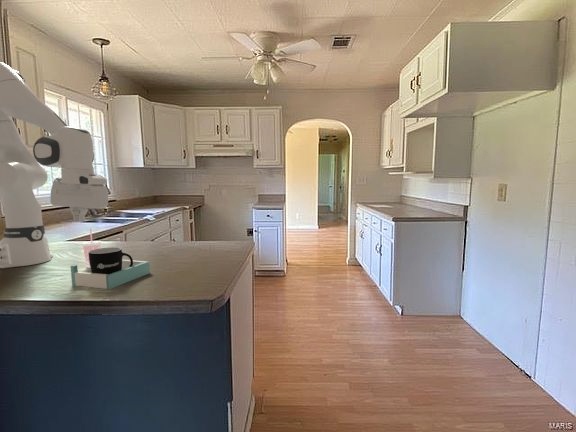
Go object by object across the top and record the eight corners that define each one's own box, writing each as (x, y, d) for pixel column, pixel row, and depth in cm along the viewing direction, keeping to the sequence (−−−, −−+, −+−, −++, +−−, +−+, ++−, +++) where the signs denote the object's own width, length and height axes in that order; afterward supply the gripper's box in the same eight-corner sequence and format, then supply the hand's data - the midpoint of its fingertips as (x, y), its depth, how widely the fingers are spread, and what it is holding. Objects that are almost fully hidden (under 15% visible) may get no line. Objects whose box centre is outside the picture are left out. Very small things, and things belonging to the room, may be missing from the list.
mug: (92, 288, 95) (90, 254, 94) (89, 281, 102) (86, 249, 101) (137, 280, 102) (135, 249, 101) (130, 274, 109) (129, 244, 108)
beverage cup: (85, 269, 116) (82, 230, 115) (82, 266, 121) (79, 228, 119) (104, 266, 120) (101, 228, 119) (100, 263, 125) (98, 227, 123)
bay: (72, 285, 98) (70, 265, 98) (116, 270, 115) (115, 253, 114) (109, 289, 94) (107, 269, 94) (150, 273, 111) (149, 255, 110)
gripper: (43, 177, 105) (45, 219, 106) (94, 179, 99) (95, 224, 101) (62, 177, 111) (63, 218, 112) (111, 179, 105) (112, 222, 107)
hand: (79, 221), depth 106 cm, fingers closed
